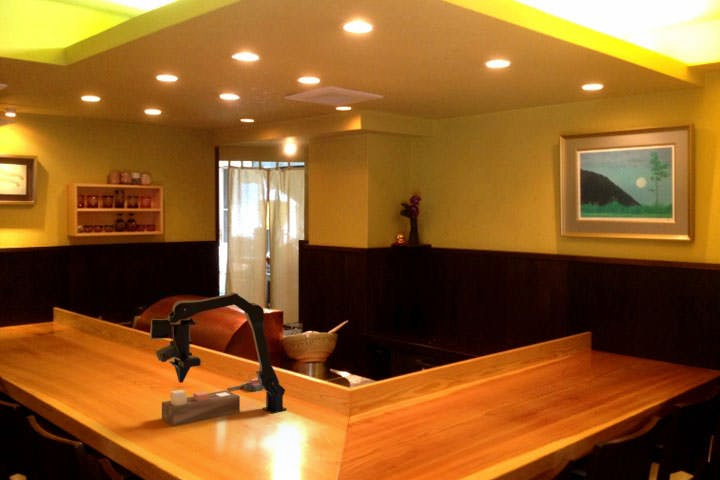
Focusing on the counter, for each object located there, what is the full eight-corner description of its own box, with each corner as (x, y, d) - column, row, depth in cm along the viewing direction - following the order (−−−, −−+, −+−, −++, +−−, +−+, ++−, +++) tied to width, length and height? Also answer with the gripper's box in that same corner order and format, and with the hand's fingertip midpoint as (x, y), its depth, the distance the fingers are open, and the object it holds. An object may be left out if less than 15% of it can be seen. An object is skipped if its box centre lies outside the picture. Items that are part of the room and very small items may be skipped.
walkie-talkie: (266, 383, 293) (225, 392, 279) (266, 373, 292) (225, 381, 279) (279, 387, 286) (238, 396, 272) (279, 376, 286) (238, 385, 272)
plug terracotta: (209, 409, 246) (209, 393, 246) (198, 411, 243) (198, 395, 243) (203, 407, 249) (203, 391, 249) (193, 409, 246) (193, 393, 246)
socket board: (239, 412, 250) (239, 396, 250) (174, 426, 235) (173, 408, 234) (226, 406, 258) (226, 390, 258) (161, 419, 242) (161, 402, 242)
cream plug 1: (186, 408, 240) (186, 392, 240) (175, 410, 238) (175, 394, 238) (181, 406, 244) (181, 389, 243) (170, 408, 241) (170, 391, 241)
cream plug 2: (230, 410, 251) (230, 394, 251) (220, 412, 249) (220, 396, 249) (225, 407, 254) (225, 392, 254) (215, 409, 252) (215, 394, 252)
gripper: (148, 335, 243) (147, 380, 243) (170, 344, 228) (170, 391, 229) (178, 332, 250) (177, 375, 250) (201, 341, 235) (201, 387, 236)
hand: (180, 382), depth 241 cm, fingers closed
